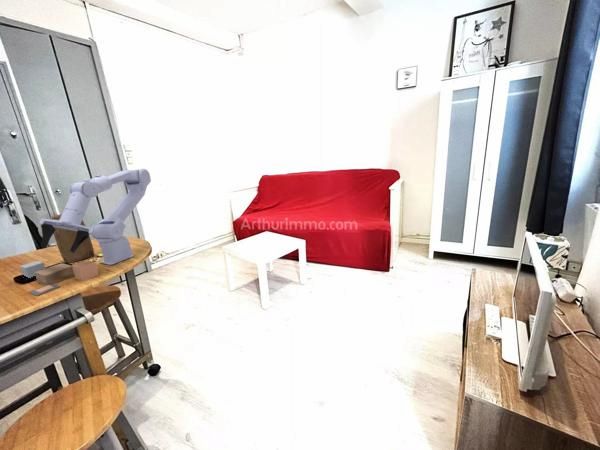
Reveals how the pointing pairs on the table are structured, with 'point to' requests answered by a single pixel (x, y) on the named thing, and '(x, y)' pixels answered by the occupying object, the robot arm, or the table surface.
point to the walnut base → (54, 274)
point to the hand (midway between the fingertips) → (57, 249)
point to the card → (44, 289)
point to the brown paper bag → (71, 243)
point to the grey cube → (31, 268)
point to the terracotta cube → (85, 270)
